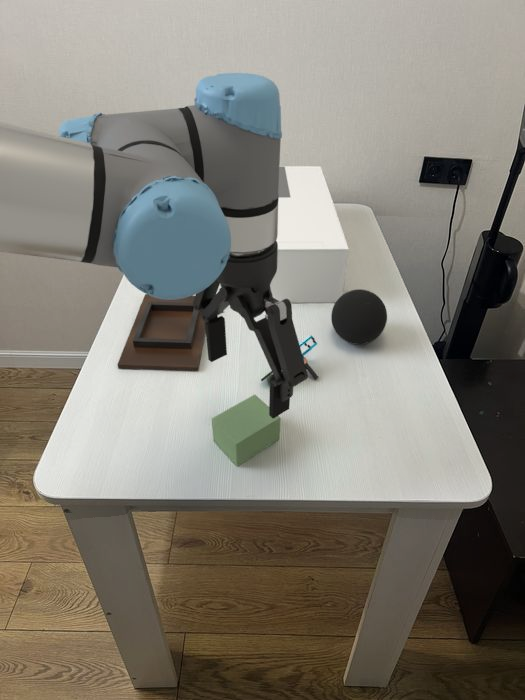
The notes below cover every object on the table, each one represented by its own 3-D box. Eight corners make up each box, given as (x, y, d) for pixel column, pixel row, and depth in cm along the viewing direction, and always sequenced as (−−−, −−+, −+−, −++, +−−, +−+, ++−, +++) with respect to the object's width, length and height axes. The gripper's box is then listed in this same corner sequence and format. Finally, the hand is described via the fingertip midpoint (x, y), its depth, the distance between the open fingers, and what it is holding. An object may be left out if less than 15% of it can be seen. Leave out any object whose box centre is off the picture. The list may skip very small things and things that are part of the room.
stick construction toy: (302, 338, 89) (315, 327, 81) (326, 368, 89) (341, 359, 81) (252, 378, 85) (260, 370, 78) (277, 409, 85) (288, 405, 78)
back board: (198, 371, 85) (196, 360, 84) (118, 368, 85) (115, 358, 84) (212, 300, 102) (211, 290, 100) (145, 298, 102) (144, 288, 101)
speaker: (319, 328, 95) (324, 284, 88) (364, 318, 98) (372, 274, 91) (344, 360, 88) (351, 315, 81) (392, 348, 91) (402, 303, 84)
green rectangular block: (236, 466, 70) (236, 444, 67) (213, 440, 73) (211, 418, 70) (279, 439, 74) (280, 417, 71) (254, 416, 77) (254, 393, 74)
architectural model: (241, 210, 135) (240, 165, 127) (316, 210, 136) (320, 165, 128) (241, 303, 101) (240, 249, 93) (341, 302, 102) (349, 248, 94)
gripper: (353, 276, 47) (332, 424, 60) (206, 194, 61) (216, 328, 75) (294, 305, 43) (286, 455, 57) (153, 210, 58) (174, 347, 72)
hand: (246, 383), depth 66 cm, fingers open, 13 cm apart
